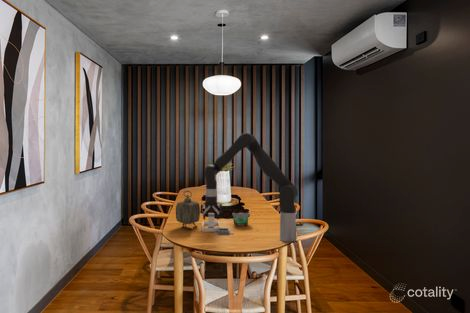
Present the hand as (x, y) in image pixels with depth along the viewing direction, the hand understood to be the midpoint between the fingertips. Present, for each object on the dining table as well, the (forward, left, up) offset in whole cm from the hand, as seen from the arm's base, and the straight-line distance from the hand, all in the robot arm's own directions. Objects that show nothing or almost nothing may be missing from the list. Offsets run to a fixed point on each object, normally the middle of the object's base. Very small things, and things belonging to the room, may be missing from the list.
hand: (211, 219), depth 224 cm
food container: (-21, -5, -7) cm, 23 cm away
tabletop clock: (+16, -4, -7) cm, 18 cm away
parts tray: (0, 0, -7) cm, 7 cm away
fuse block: (-8, +12, -7) cm, 16 cm away
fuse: (0, 0, -6) cm, 6 cm away
